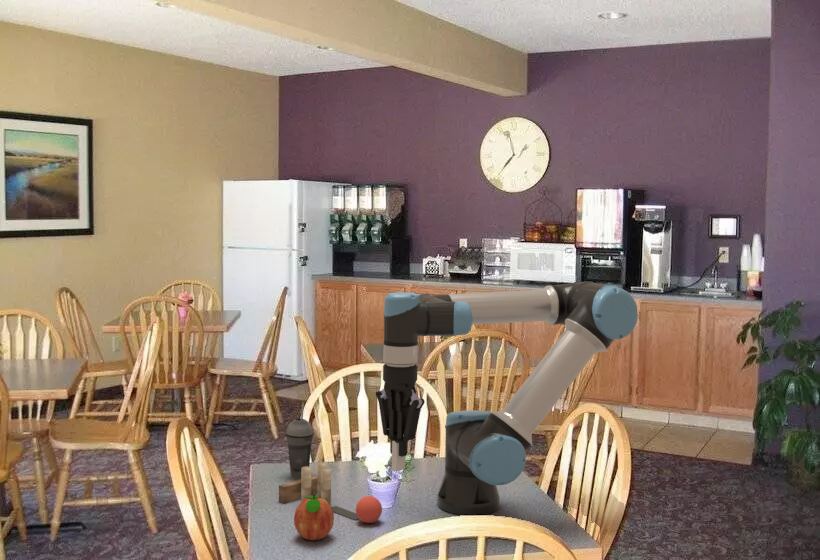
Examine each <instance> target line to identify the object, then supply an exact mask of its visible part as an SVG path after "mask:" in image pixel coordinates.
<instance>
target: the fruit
mask: <svg viewBox="0 0 820 560" xmlns="http://www.w3.org/2000/svg"><path fill="white" fill-rule="evenodd" d="M304 498H307V499H305V500H303V501H302V502H301V501H300V503H299V504H298V505H297V507H296V508H295V511H294V517H293V521H294V527H295V529H296V532H297V533H298V534H299V536H300V537H302V538H303V539H305V540H310V541H319V540H322V539H324V538H325V537H327V536H328V535H329V533H330V532H331V530H332V529H333V526H334V521H335V516H334V515H335V513H334V512H333V510H332V508H331V507H332V505H331V506H330V505H329V503H328V502H327V501H325V500H324V499H322V498H318V496H317V495H316V494H315V493H313V495H311V496H306V497H304Z"/></svg>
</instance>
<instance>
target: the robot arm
mask: <svg viewBox="0 0 820 560" xmlns="http://www.w3.org/2000/svg"><path fill="white" fill-rule="evenodd" d="M383 308H384V309H383V315H382V316H383V348H382V349H383V355H382V359H383V360H382V361H383V363H384V364H383V365H382V381H384V386H383V389H381V390H377V391H376V392H375V396H376V398H377V403H378V406H379V413H380V421H381V427H382V433H383V435H384V436H386V437H388V438H389V441H390V442H389V445H390V449H389V452H390V454H391V471H392V472H393V471H394V472H400V471H403V470H405V469H406V456H407V454H408V442H409V441H411V440H415V438H416V433H417V429H418V424H419V420H420V415H421V411H422V408H423V406H424V405H425V399H424V398H420V397H419V396H418V395H417V389H416V385H415V384H416V383H417V381H418V366H417V363H418V353H419V352H418V348H419V346H418V345H419V337H434V336H435V337H439V336H441V337H444V336H446V337H447V336H453V337H456V336H465V335H468V334H469V333H470V332H471V330H472V327H473V326H474V325H475V326H476V325H492V324H511V323H513V324H514V323H531V322H545V323H546V324H547V325H561V326H562V325H563V326H565V328H564V329H565V330H564V331H563V333H561V335H560V336H559V338H557V340H556V341H555V342H554V344H553V345H552V347H550V349H549V350H548V351H547V353H546V354H545V355H544V357H543V358H542V359H541V360H540V362H539V363H538V364H537V365H536V367H534V369H533V370H532V371H531V373H530V374H529V375H528V376H527V378H526V380H524V381H523V383H522V385H520V387H519V388H518V389H517V390H516V392H515V393H514V395H513V396H512V397H511V398H510V400H508V402H507V404H506V405H505V406H504V407H503V408H502V409H501V410H497V411H490V410H489V411H488V410H472V409H471V410H469V409H468V410H457V411H452V412H449V413H448V414H447V416H446V418H445V420H446V421H445V425H444V428H445V449H444V450H445V452H444V455H445V456H444V475H443V478H442V480H441V484H440V487H439V489H438V492H437V499H436V501H437V503H436V504H437V506H438V507H439V509H440V510H442V511H445V512H447V513H450V514H455V515H460V516H465V515H464V514H483V515H488V514H491V513H494V512H495V511H497V510H499V508H500V506H501V504H500V503H501V502H500V501H501V496H500V494H499V490H498V487H497V486H503V485H508V484H510V483H513V482H514V481H515V480H517V479H518V477H520V475H521V474H522V473H523V471H524V469H525V466H526V465H527V464H526V463H527V461H526V460H527V459H526V458H527V454H526V453H527V452H528V451H529V449H531V447H532V445H533V439H532V438H533V437H532V436H533V435H532V434H533V433H534V432H535V430H536V429H537V428H538V427H539V426H540V424H541V423H542V422H543V420H544V419H545V418H546V416H548V414H549V412H550V411H552V409H553V408H554V406H555V405H556V404H557V403H558V401H559V400H560V399H561V397H562V396H563V395H564V394H565V393H566V391H567V390H568V388H570V386H571V385H572V384H573V382H574V381H575V379H576V378H577V377H578V376H579V375H580V373H581V371H582V370H584V368H585V367H586V365H587V364H588V363H589V362H590V360H591V359H592V358H593V357H594V355H595V354H596V353H602V352H603V353H604V352H606V351H607V350H608V348H609V347H610V346H611V345H612V344H613V342H614V341H615V340H621V339H624V338H627V336H629V335H631V333H632V332H633V331H634V329H635V327H636V325H637V323H638V318H639V312H638V305H637V302H636V300H635V298H634V296H632V294H631V293H629V291H627V290H625V289H623V288H622V287H621V288H620V287H619V286H616V285H613V284H611V285H610V284H608V285H607V284H602V283H598V282H594V281H578V282H571V283H563V284H562V283H561V284H553V285H551V284H550V285H546V286H544V288H543V289H534V290H514V291H513V290H511V291H493V292H492V291H491V292H471V293H470V292H469V293H448V294H429V293H418V294H417V293H416V292H402V291H401V292H399V291H397V292H390V293H387V295H386V296H385V297H384V307H383Z"/></svg>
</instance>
